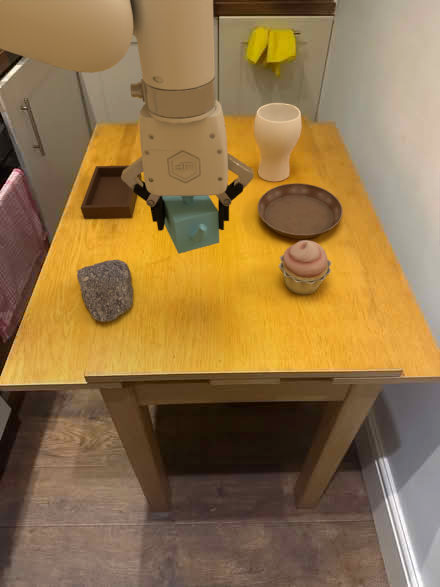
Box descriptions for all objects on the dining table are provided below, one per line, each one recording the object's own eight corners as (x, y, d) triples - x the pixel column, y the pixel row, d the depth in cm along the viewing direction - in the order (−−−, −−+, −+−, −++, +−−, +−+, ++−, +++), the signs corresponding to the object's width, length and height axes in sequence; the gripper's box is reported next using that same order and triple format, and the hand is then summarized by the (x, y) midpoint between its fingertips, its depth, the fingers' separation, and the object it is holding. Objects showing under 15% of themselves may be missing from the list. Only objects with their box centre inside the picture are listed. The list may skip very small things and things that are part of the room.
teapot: (228, 262, 56) (228, 219, 51) (186, 274, 55) (181, 231, 49) (199, 213, 64) (196, 170, 58) (162, 222, 62) (155, 180, 57)
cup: (292, 160, 104) (299, 100, 93) (298, 184, 97) (307, 122, 85) (250, 162, 104) (252, 102, 93) (254, 186, 97) (256, 124, 85)
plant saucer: (299, 257, 80) (301, 246, 78) (240, 215, 89) (240, 204, 87) (357, 221, 87) (360, 209, 85) (297, 185, 96) (298, 174, 94)
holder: (132, 218, 90) (129, 206, 87) (84, 219, 90) (80, 207, 88) (141, 176, 101) (139, 165, 98) (99, 177, 101) (95, 166, 99)
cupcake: (285, 259, 80) (291, 218, 72) (332, 273, 77) (343, 232, 69) (268, 292, 74) (272, 251, 67) (318, 308, 71) (328, 267, 64)
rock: (67, 271, 72) (118, 247, 75) (78, 289, 77) (126, 265, 79) (88, 318, 66) (144, 290, 68) (100, 335, 70) (151, 308, 73)
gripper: (92, 111, 41) (125, 242, 55) (263, 108, 41) (255, 241, 54) (106, 81, 46) (133, 208, 60) (259, 79, 46) (252, 207, 59)
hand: (191, 223), depth 57 cm, fingers closed on teapot, 7 cm apart
